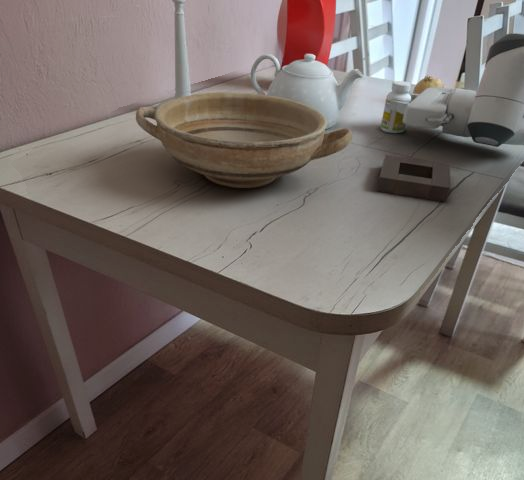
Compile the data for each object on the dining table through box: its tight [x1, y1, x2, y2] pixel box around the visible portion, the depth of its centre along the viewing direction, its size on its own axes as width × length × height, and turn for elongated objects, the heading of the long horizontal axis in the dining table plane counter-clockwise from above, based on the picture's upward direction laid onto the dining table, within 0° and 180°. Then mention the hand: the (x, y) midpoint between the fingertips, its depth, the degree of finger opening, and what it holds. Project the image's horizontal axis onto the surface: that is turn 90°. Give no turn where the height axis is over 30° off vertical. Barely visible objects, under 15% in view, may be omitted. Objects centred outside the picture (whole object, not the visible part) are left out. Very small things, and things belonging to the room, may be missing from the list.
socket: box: [376, 154, 451, 203], centre depth 87 cm, size 12×12×2 cm
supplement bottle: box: [380, 80, 412, 134], centre depth 109 cm, size 5×5×10 cm
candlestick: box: [155, 0, 192, 110], centre depth 105 cm, size 13×13×30 cm
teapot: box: [249, 53, 364, 130], centre depth 109 cm, size 19×18×14 cm
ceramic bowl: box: [135, 91, 354, 189], centre depth 84 cm, size 37×29×10 cm
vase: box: [276, 0, 337, 70], centre depth 127 cm, size 15×14×28 cm
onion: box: [412, 74, 445, 94], centre depth 128 cm, size 8×8×7 cm
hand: (394, 100), depth 108 cm, fingers closed on supplement bottle, 5 cm apart
